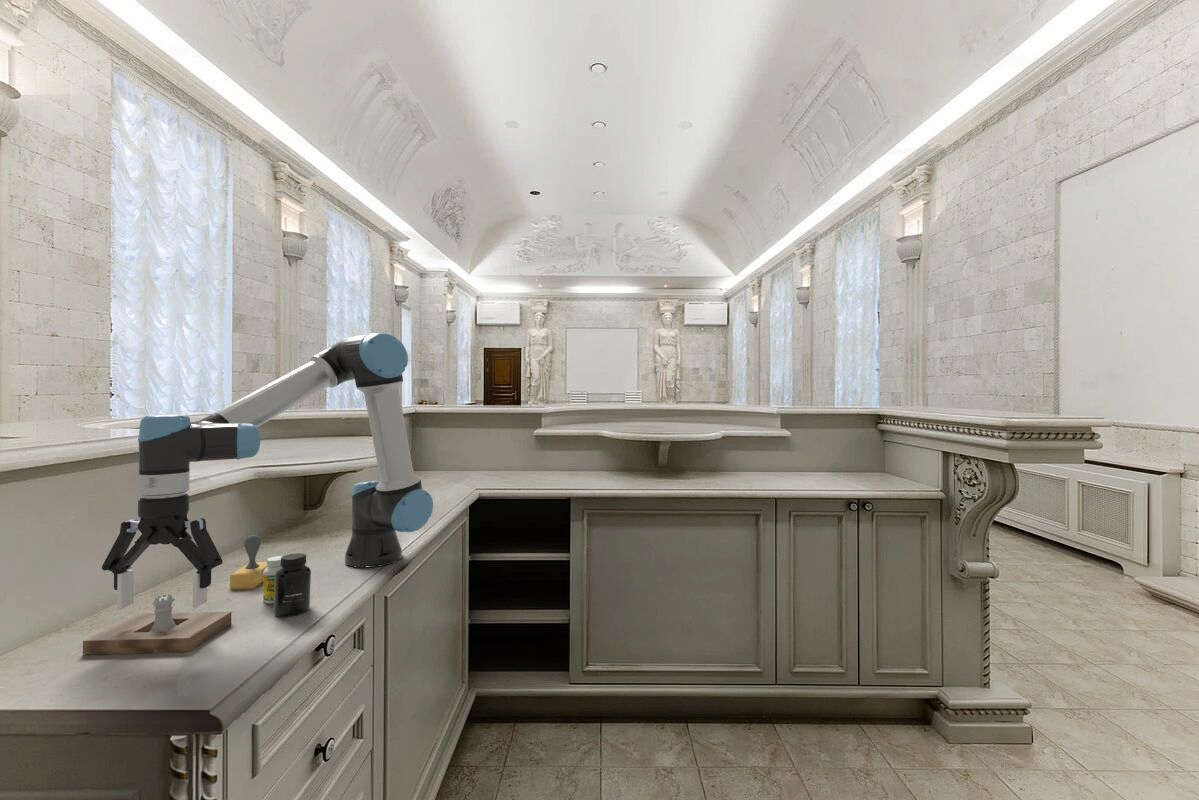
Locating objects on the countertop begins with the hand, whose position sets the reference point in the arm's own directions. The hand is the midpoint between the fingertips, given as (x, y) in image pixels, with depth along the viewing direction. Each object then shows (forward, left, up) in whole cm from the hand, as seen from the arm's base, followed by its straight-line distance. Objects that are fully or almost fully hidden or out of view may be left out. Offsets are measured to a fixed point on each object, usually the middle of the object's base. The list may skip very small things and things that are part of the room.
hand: (162, 605), depth 98 cm
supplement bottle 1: (-11, -19, -7) cm, 23 cm away
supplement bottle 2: (-18, -12, -7) cm, 23 cm away
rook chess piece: (0, 0, -7) cm, 7 cm away
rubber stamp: (+2, -32, -7) cm, 33 cm away
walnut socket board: (0, 0, -6) cm, 6 cm away
